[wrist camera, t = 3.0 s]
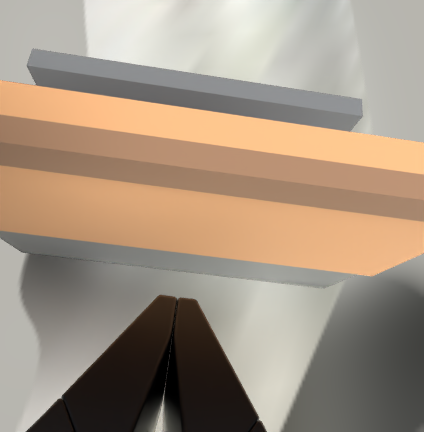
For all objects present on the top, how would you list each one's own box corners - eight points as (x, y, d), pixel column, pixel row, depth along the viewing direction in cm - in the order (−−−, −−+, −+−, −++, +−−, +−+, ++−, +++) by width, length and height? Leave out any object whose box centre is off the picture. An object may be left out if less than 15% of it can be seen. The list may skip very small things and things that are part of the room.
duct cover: (370, 257, 16) (372, 290, 15) (-24, 207, 15) (-36, 241, 14) (550, 161, 8) (566, 219, 8) (-217, 48, 7) (-258, 106, 7)
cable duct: (324, 288, 20) (369, 269, 16) (21, 252, 19) (-26, 220, 15) (323, 149, 23) (361, 99, 19) (61, 112, 22) (32, 48, 18)
